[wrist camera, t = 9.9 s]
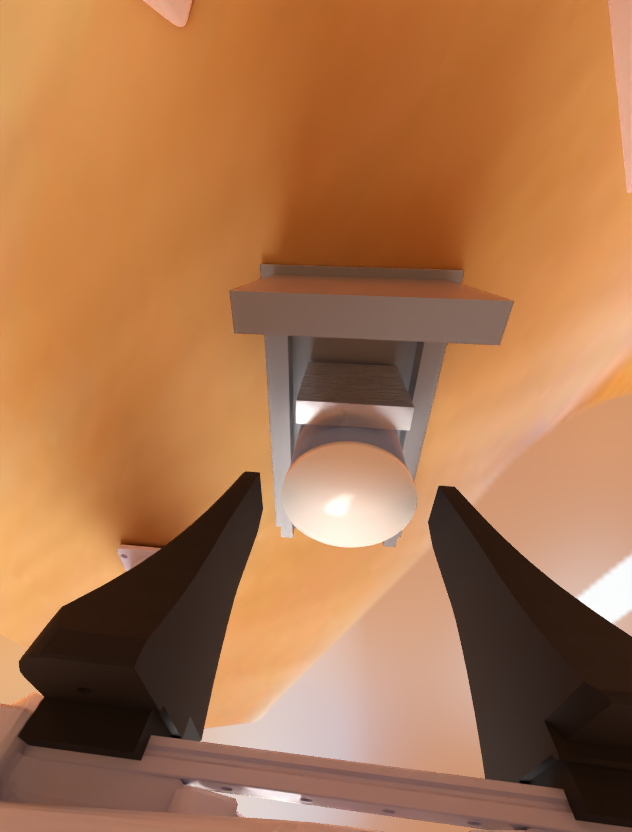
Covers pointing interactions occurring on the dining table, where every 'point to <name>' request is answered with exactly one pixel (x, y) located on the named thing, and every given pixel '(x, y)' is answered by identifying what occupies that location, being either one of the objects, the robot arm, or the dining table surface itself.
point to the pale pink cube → (623, 74)
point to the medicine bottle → (172, 10)
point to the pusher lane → (359, 338)
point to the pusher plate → (354, 397)
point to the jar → (348, 485)
